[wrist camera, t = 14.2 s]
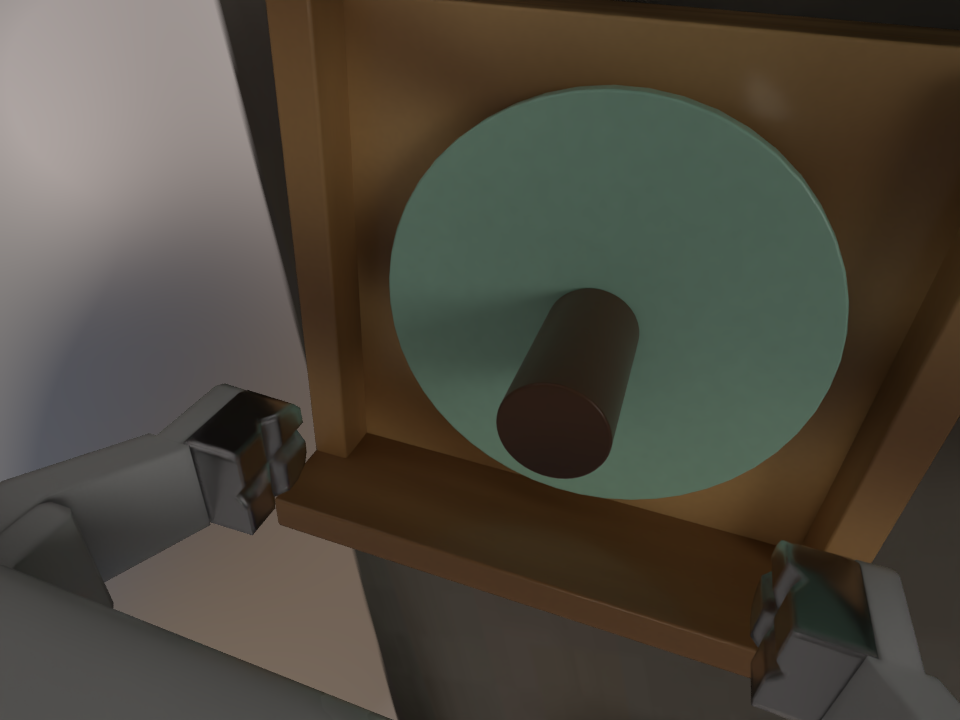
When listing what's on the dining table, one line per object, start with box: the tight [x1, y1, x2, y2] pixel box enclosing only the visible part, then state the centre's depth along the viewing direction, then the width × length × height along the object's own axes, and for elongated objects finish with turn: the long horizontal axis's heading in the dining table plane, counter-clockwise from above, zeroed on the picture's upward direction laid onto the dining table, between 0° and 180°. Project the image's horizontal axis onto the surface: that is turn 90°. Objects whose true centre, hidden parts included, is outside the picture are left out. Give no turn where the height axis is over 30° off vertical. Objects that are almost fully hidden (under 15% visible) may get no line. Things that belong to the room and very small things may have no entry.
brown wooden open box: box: [266, 0, 960, 678], centre depth 18 cm, size 15×17×9 cm
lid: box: [389, 85, 849, 500], centre depth 15 cm, size 12×12×6 cm
